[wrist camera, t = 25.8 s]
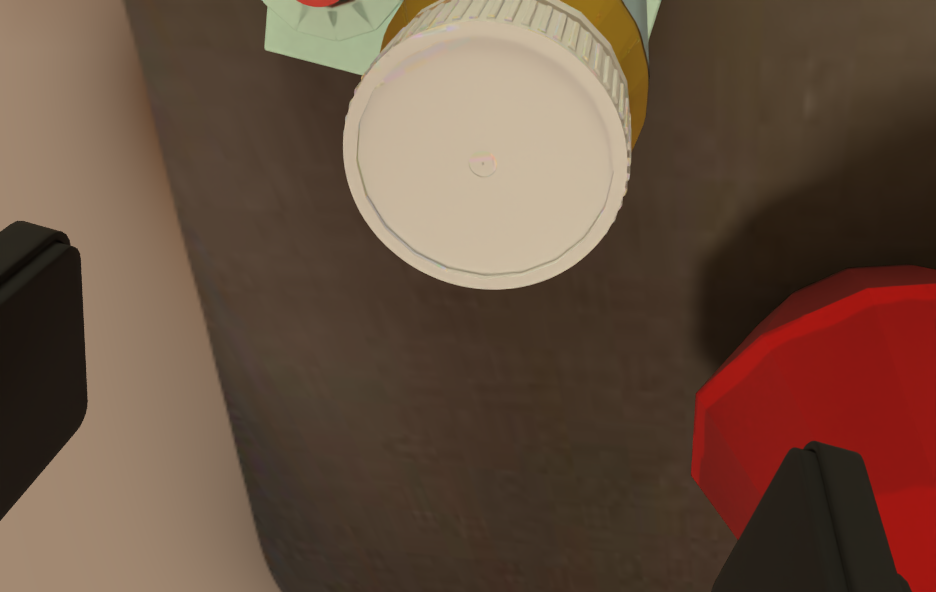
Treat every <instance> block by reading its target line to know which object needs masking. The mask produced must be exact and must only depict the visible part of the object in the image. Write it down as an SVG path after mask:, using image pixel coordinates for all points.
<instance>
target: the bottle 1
mask: <svg viewBox="0 0 936 592" xmlns="http://www.w3.org/2000/svg"><path fill="white" fill-rule="evenodd" d="M648 86H649V53H648V25H647V0H404V1H403V2H402V4H401V6H400V7H399V9H398V10H397V12H396V13H395V15H394V17H393V18H392V20H391V21H390V23H389V24H388V27H387V29H386V32H385V34H384V37H383V41H382V45H381V50H380V54H379V55H378V56H377V57H376V58H375V60H374V61H373V62H372V63H371V64H370V67H369V68H368V69H367V70H366V72H365V73H364V74H363V76H362V77H361V82H360V83H359V84H358V85H357V87H356V88H355V90H354V94H355V95H354V97H353V98H352V100H351V101H350V103H349V111H348V114H347V115H346V118H345V122H346V123H345V129H344V131H343V136H344V138H343V157H344V166H345V172H346V176H347V180H348V184H349V187H350V190H351V193H352V196H353V198H354V200H355V203H356V205H357V207H358V209H359V211H360V212H361V214H362V216H363V218H364V219H365V221H366V222H367V224H368V225H369V226H370V228H371V229H372V231H373V232H374V233H375V234H376V235H377V237H378V238H379V239H380V240H381V241H382V242H383V243H384V244H385V245H386V246H387V247H388V248H389V249H390V250H391V251H392V252H394V253H395V254H396V255H397V256H398V257H400V258H401V259H402V260H404V261H405V262H407V263H408V264H410V265H411V266H413V267H415V268H416V269H418V270H420V271H422V272H424V273H426V274H428V275H430V276H432V277H434V278H437V279H440V280H442V281H445V282H448V283H452V284H455V285H459V286H464V287H470V288H477V289H510V288H518V287H523V286H528V285H532V284H535V283H538V282H541V281H544V280H547V279H549V278H552V277H554V276H556V275H558V274H560V273H562V272H564V271H565V270H567V269H569V268H570V267H572V266H573V265H575V264H576V263H577V262H579V261H580V260H581V259H582V258H584V257H585V256H586V255H587V254H588V253H589V252H590V251H591V250H592V249H593V248H594V247H595V246H596V245H597V244H598V243H599V241H600V240H601V239H602V238H603V236H604V235H605V234H606V233H607V232H608V229H609V227H610V226H611V224H612V223H613V222H614V221H615V219H616V214H617V212H618V210H619V209H620V208H621V206H622V203H623V196H624V195H625V194H626V192H627V181H628V180H629V178H630V164H631V152H632V150H633V147H634V145H635V143H636V140H637V138H638V136H639V134H640V131H641V129H642V127H643V124H644V120H645V116H646V107H647V97H648Z"/></svg>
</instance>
